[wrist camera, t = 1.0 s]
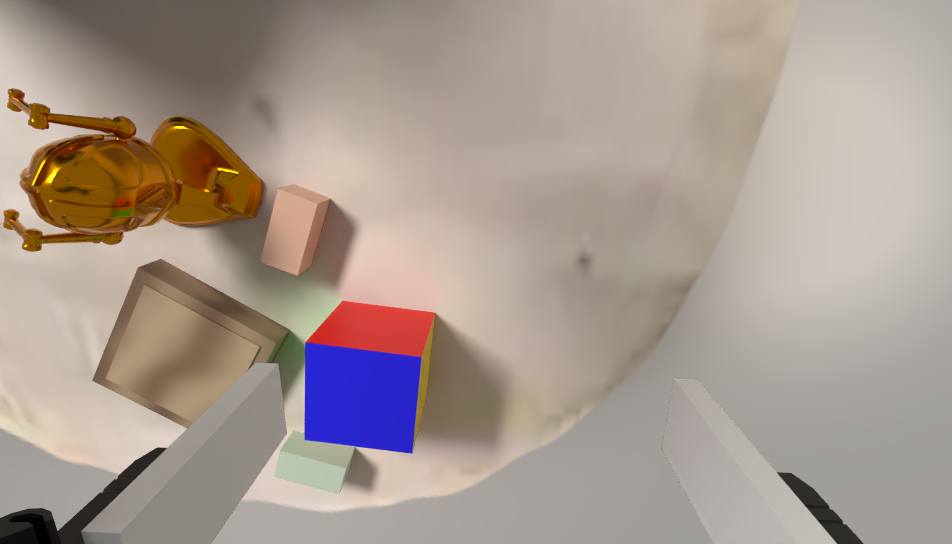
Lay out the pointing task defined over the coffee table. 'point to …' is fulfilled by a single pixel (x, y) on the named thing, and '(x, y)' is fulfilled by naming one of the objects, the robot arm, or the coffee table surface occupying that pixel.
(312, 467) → the sage brick
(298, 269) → the terracotta brick
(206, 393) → the walnut slab
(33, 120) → the figurine
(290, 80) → the coffee table surface
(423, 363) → the cube
